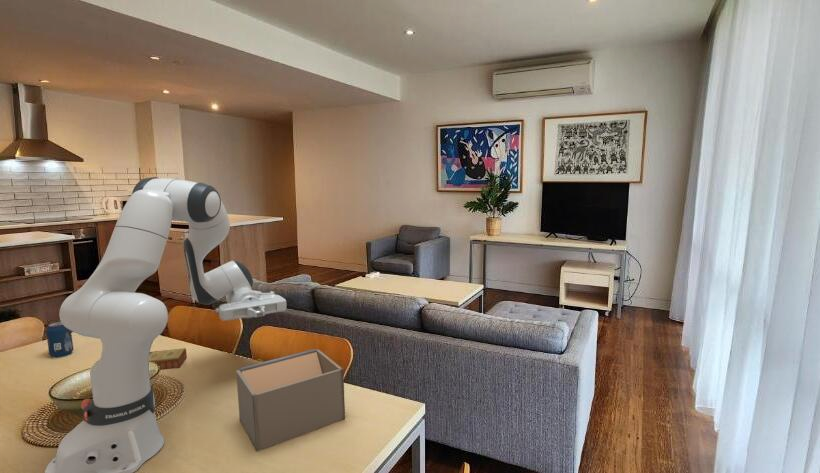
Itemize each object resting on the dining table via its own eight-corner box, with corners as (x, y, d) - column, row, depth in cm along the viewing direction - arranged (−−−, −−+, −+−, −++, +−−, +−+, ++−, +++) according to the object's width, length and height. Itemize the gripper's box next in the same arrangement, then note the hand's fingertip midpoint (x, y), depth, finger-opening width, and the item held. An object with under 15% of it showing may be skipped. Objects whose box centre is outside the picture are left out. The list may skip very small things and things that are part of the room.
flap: (251, 420, 106) (240, 367, 111) (250, 421, 107) (240, 368, 112) (328, 395, 118) (315, 348, 123) (327, 396, 119) (314, 349, 123)
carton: (180, 368, 144) (179, 357, 144) (127, 374, 141) (126, 362, 140) (187, 358, 152) (186, 347, 152) (137, 363, 149) (135, 352, 148)
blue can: (53, 352, 158) (49, 321, 156) (76, 349, 161) (72, 319, 159) (46, 360, 152) (42, 328, 150) (70, 356, 155) (66, 325, 153)
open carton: (256, 451, 100) (253, 396, 98) (239, 420, 113) (236, 370, 111) (345, 418, 113) (343, 369, 111) (320, 394, 126) (318, 349, 124)
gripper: (213, 299, 134) (223, 309, 123) (277, 290, 146) (291, 299, 134) (214, 318, 135) (224, 330, 123) (278, 308, 146) (292, 318, 135)
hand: (260, 314), depth 129 cm, fingers closed
